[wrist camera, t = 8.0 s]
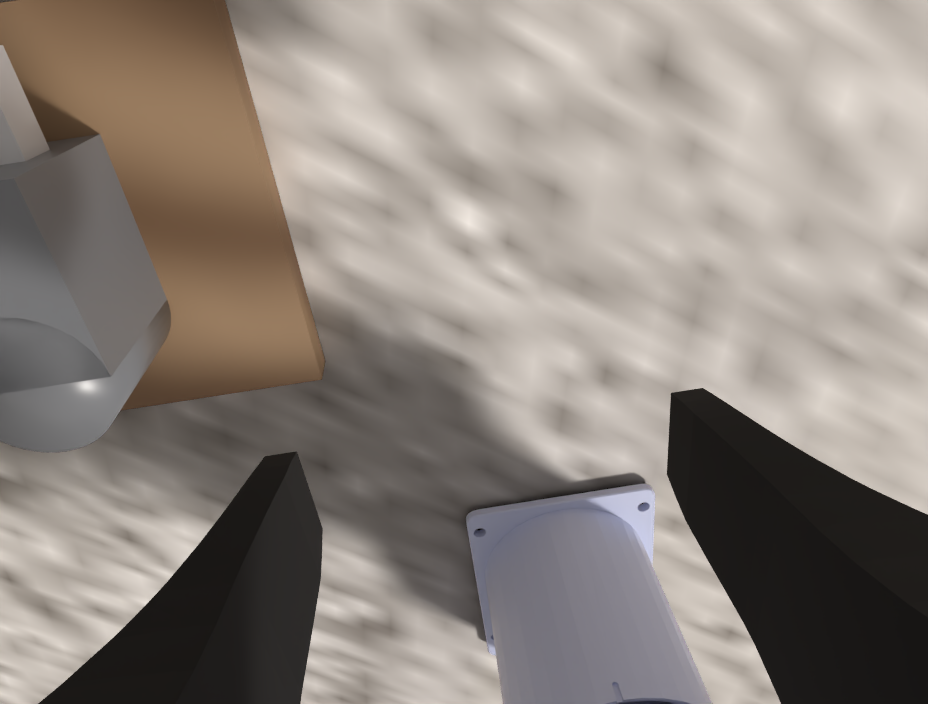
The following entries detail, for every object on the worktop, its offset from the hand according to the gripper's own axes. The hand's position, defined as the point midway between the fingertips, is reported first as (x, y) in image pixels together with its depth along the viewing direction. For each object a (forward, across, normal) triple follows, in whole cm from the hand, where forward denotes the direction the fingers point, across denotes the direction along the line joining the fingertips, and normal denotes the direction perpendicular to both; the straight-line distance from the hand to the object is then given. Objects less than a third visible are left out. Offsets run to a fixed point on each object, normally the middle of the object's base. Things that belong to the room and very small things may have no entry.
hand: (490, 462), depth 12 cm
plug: (+9, +11, -3) cm, 15 cm away
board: (+10, +11, -3) cm, 15 cm away
